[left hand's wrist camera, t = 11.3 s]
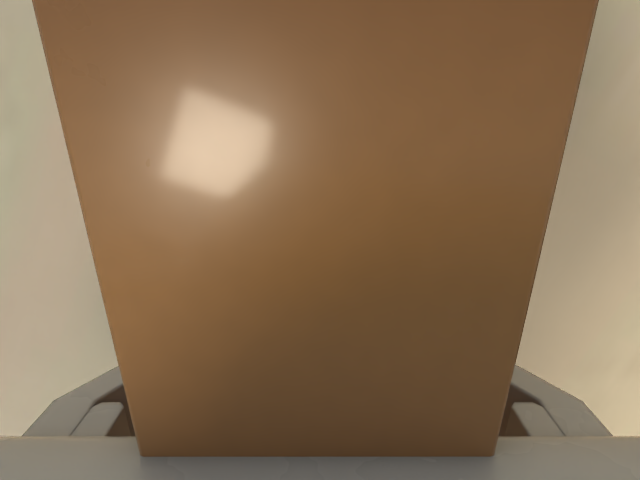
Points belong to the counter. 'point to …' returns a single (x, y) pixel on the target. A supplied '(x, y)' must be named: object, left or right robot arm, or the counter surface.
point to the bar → (316, 210)
